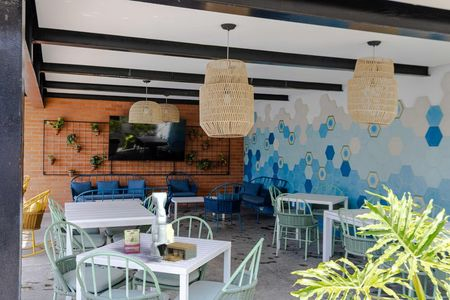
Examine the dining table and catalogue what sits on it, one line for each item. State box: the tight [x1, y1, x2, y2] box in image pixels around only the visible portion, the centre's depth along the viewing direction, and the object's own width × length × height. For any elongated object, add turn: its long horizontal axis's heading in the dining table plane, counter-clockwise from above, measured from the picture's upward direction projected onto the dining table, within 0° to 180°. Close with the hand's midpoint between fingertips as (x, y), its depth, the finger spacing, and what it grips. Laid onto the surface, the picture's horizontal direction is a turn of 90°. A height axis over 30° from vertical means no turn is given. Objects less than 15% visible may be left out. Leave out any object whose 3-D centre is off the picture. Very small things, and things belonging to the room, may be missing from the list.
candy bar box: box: [123, 228, 141, 255], centre depth 301 cm, size 11×5×16 cm, turn 101°
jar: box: [166, 223, 175, 244], centre depth 331 cm, size 12×10×15 cm
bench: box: [165, 241, 198, 261], centre depth 289 cm, size 18×12×8 cm, turn 58°
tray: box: [162, 249, 185, 263], centre depth 284 cm, size 10×14×5 cm
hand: (161, 255), depth 272 cm, fingers closed
